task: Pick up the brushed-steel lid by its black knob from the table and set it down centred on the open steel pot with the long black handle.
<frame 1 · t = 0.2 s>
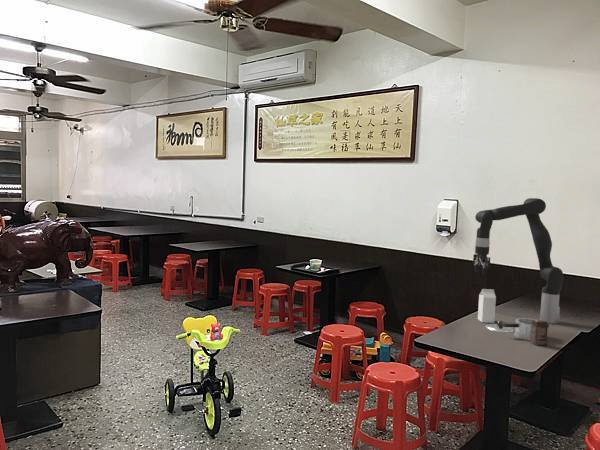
hand: (480, 273, 268), 28 cm above the table, fingers open, 8 cm apart
box: (538, 344, 232), on the table
pot: (529, 336, 244), on the table
lid: (499, 329, 258), on the table
milk carton: (485, 321, 272), on the table
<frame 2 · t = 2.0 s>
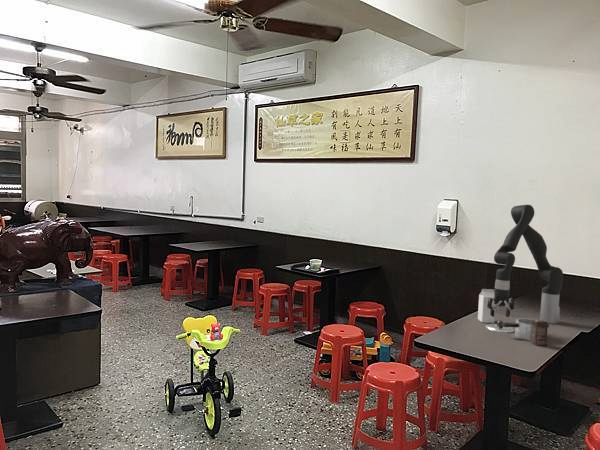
hand: (499, 316, 258), 7 cm above the table, fingers open, 8 cm apart
nothing on the table moved.
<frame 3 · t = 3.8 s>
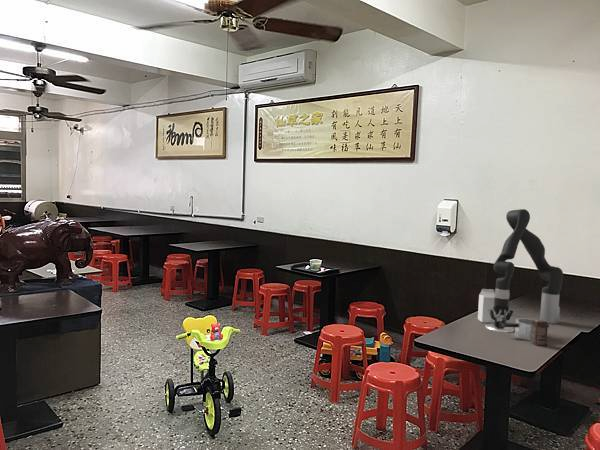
hand: (499, 327, 258), 1 cm above the table, fingers closed on lid, 3 cm apart
lid: (499, 328, 258), on the table, touching gripper
everything else where it was.
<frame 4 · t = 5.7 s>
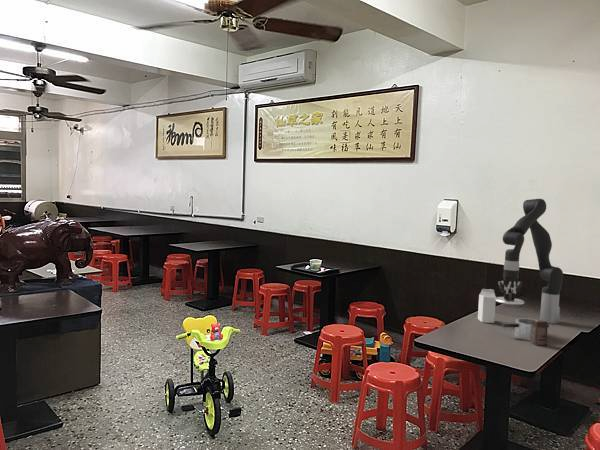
hand: (509, 299, 253), 17 cm above the table, fingers closed on lid, 3 cm apart
lid: (509, 301, 253), point 16 cm above the table, touching gripper
everything else where it was.
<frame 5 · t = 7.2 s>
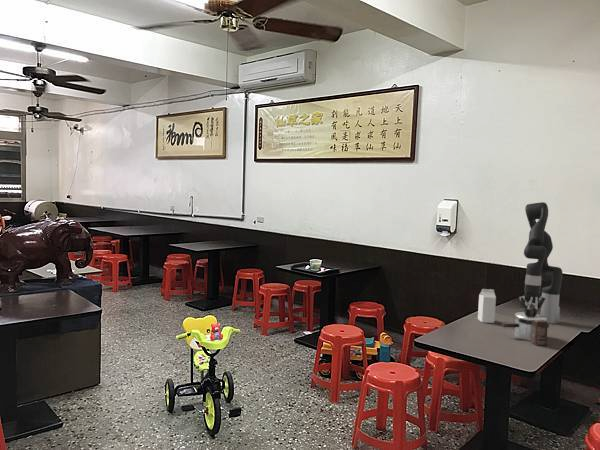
hand: (530, 315, 243), 11 cm above the table, fingers closed on lid, 3 cm apart
lid: (530, 317, 243), point 10 cm above the table, touching gripper
everything else where it was.
when the fingers open (10 cm above the table, at t = 8.1 s): lid stays where it is, resting on pot.
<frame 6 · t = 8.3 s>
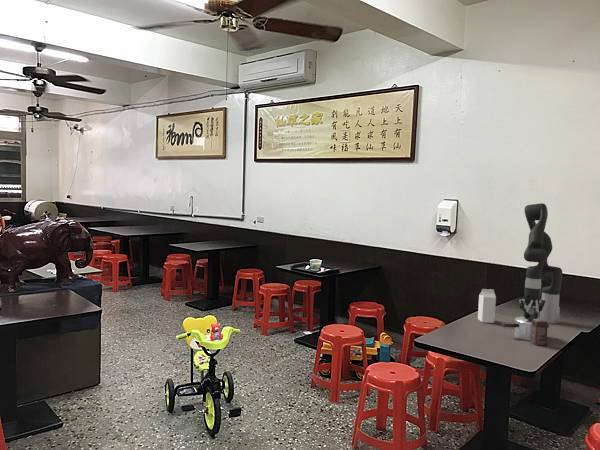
hand: (530, 318, 243), 10 cm above the table, fingers open, 4 cm apart
lid: (530, 321, 243), point 8 cm above the table, touching pot
everything else where it was.
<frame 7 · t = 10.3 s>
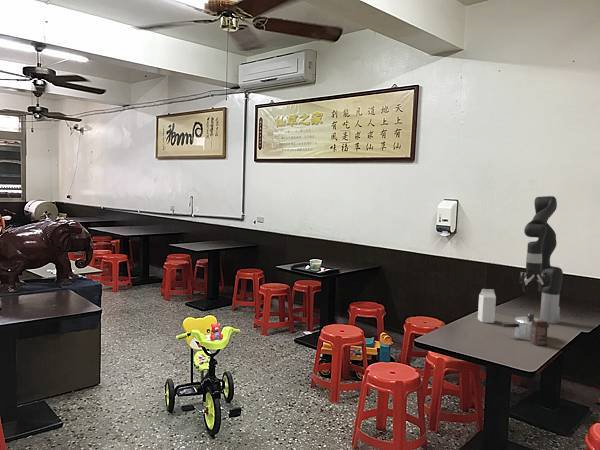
hand: (532, 291, 248), 23 cm above the table, fingers open, 8 cm apart
nothing on the table moved.
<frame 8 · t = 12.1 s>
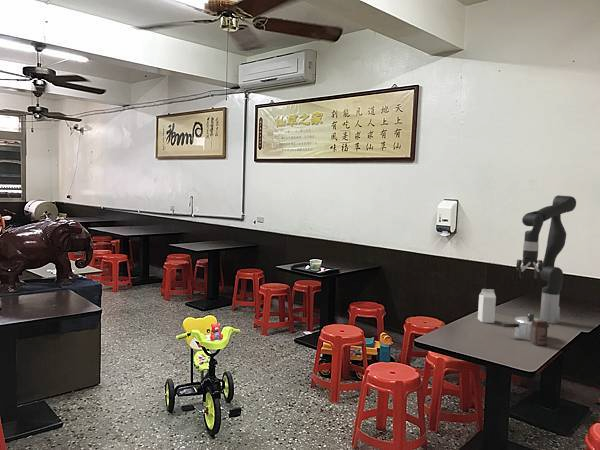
hand: (528, 278, 259), 28 cm above the table, fingers open, 8 cm apart
nothing on the table moved.
at the end: lid 0.1 cm off-centre on the pot, point 8.0 cm above the pot's base; lid tilted 0°; the gripper is holding nothing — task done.
